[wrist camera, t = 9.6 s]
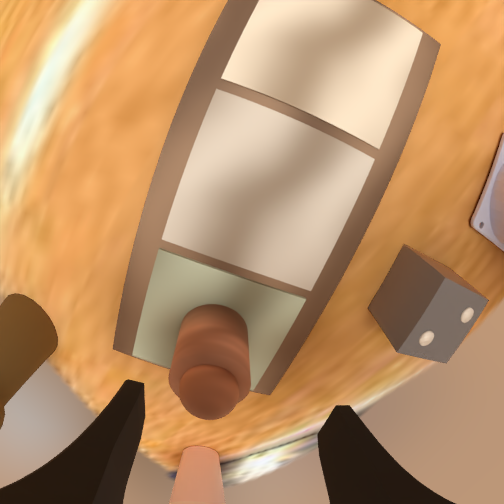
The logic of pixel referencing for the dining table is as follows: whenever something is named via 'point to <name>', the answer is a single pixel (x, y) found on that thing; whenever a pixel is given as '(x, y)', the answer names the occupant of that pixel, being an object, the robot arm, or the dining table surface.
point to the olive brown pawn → (22, 344)
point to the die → (425, 307)
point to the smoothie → (198, 478)
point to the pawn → (211, 361)
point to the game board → (272, 172)
